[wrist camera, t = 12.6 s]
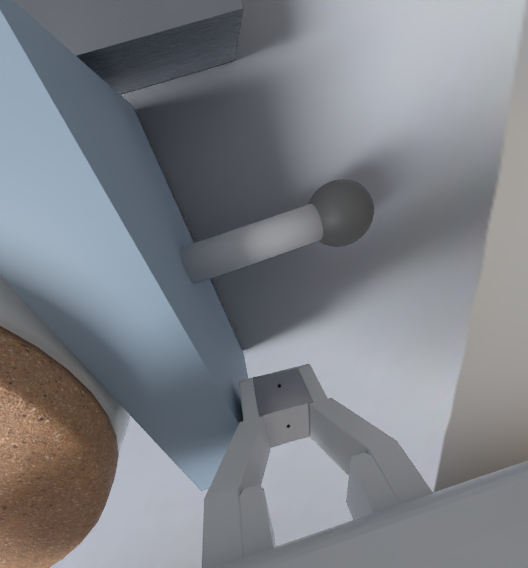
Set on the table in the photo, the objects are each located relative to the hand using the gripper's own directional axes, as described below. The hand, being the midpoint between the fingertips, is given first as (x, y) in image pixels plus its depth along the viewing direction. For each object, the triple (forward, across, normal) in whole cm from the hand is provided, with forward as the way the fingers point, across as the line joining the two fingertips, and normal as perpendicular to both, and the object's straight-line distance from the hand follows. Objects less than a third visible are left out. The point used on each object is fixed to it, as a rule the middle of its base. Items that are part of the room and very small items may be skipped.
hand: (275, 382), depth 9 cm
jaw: (+5, 0, -4) cm, 6 cm away
